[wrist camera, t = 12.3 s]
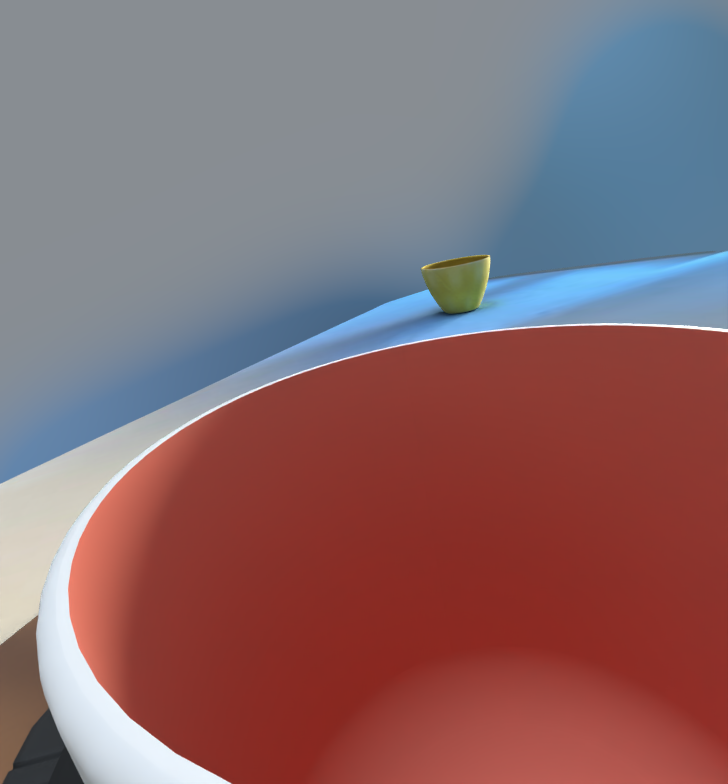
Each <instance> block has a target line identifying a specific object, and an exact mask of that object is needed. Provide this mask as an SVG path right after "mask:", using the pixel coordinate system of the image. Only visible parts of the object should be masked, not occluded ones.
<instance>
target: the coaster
mask: <svg viewBox="0 0 728 784" xmlns="http://www.w3.org/2000/svg"><path fill="white" fill-rule="evenodd" d="M37 622H38V616H36V617H35V618H34V619H32V620H31V621H30V622H29V623H27V624H26V625H25V626H24V627H22V628H21V629H20V630H19V631H17V632H16V633H15V634H14V635H12V636H11V637H10V638H9V639H7V640H6V641H5V642H4V643H2V644H1V645H0V784H2V783H3V781H4V779H5V777H6V775H7V773H8V772H9V771H11V770H12V769H13V762H14V760H15V758H16V756H17V754H18V752H19V751H20V749H21V747H22V745H23V743H24V741H25V739H26V737H27V735H28V733H29V732H30V730H31V728H32V727H33V725H34V724H35V723H36V722H37V721H38V720H39V719H40V717H41V716H42V715H43V714H44V713H45V712H46V711H47V709H48V708H49V706H48V703H47V701H46V698H45V696H44V692H43V688H42V685H41V681H40V673H39V663H38V653H37V640H36V630H37Z"/></svg>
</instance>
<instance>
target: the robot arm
mask: <svg viewBox="0 0 728 784" xmlns="http://www.w3.org/2000/svg"><path fill="white" fill-rule="evenodd" d="M2 784H84V782H83V780H82V778H81V776H80V774H79V772H78V770H77V768H76V766H75V764H74V762H73V760H72V758H71V756H70V754H69V752H68V750H67V748H66V746H65V744H64V742H63V740H62V738H61V736H60V733H59V731H58V729H57V726H56V724H55V721H54V719H53V716H52V714H51V711H50V708H48V709H47V711H46V712H45V713H44V714H43V715H42V716H41V717H40V719H39V720H38V721H37V722H36V723H35V724H34V725H33V727H32V728H31V730H30V732H29V733H28V735H27V737H26V739H25V741H24V743H23V745H22V747H21V749H20V751H19V752H18V754H17V756H16V758H15V760H14V762H13V769H12V770H11V771H9V772H8V773H7V775H6V777H5V779H4V781H3V783H2Z"/></svg>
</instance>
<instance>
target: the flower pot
mask: <svg viewBox="0 0 728 784" xmlns="http://www.w3.org/2000/svg"><path fill="white" fill-rule="evenodd" d="M489 269H490V255H477V256H468V257H462V258H457V259H451V260H446V261H441V262H438V263H433V264H430V265H427V266H424V267H422V268H421V271H422V275H423V278H424V280H425V283H426V285H427V287H428V289H429V291H430V293H431V295H432V296H433V298H434V299H435V301H436V302H437V304H438V305H439V306H440V307H441V309H442V310H443V311H444V312H445V313H449V314H454V313H462V312H467V311H471V310H474V309H476V308H478V307H479V305H480V303H481V300H482V298H483V295H484V293H485V289H486V286H487V282H488V277H489Z"/></svg>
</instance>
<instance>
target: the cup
mask: <svg viewBox="0 0 728 784" xmlns="http://www.w3.org/2000/svg"><path fill="white" fill-rule="evenodd" d="M36 640H37V653H38V663H39V673H40V681H41V685H42V688H43V692H44V696H45V698H46V701H47V703H48V706H49V708H50V711H51V714H52V716H53V719H54V721H55V724H56V726H57V729H58V731H59V733H60V736H61V738H62V740H63V742H64V744H65V746H66V748H67V750H68V752H69V754H70V756H71V758H72V760H73V762H74V764H75V766H76V768H77V770H78V772H79V774H80V776H81V778H82V780H83V782H84V784H728V330H725V329H716V328H704V327H691V326H676V325H655V324H570V325H549V326H533V327H520V328H510V329H499V330H490V331H482V332H473V333H466V334H459V335H452V336H446V337H440V338H434V339H428V340H422V341H417V342H412V343H407V344H402V345H397V346H392V347H388V348H383V349H379V350H375V351H371V352H367V353H363V354H359V355H355V356H351V357H347V358H344V359H340V360H337V361H333V362H330V363H326V364H323V365H320V366H317V367H314V368H310V369H307V370H304V371H301V372H298V373H296V374H293V375H290V376H287V377H284V378H282V379H279V380H276V381H274V382H271V383H268V384H266V385H263V386H261V387H259V388H256V389H254V390H251V391H249V392H247V393H244V394H242V395H240V396H238V397H236V398H233V399H231V400H229V401H227V402H225V403H223V404H221V405H219V406H217V407H215V408H213V409H211V410H209V411H207V412H205V413H203V414H202V415H200V416H198V417H196V418H194V419H192V420H191V421H189V422H187V423H186V424H184V425H182V426H181V427H179V428H177V429H176V430H174V431H173V432H171V433H169V434H168V435H166V436H165V437H163V438H162V439H160V440H159V441H157V442H156V443H155V444H153V445H152V446H151V447H149V448H148V449H146V450H145V451H144V452H142V453H141V454H140V455H139V456H137V457H136V458H135V459H134V460H132V461H131V462H130V463H129V464H127V465H126V466H125V467H124V468H123V469H122V470H121V471H119V472H118V473H117V474H116V475H115V476H114V477H113V478H112V479H111V480H110V481H109V482H108V483H107V484H106V485H105V486H104V487H103V489H102V490H101V491H100V492H99V493H98V494H97V495H96V496H95V497H94V498H93V499H92V501H91V502H90V503H89V504H88V505H87V506H86V507H85V508H84V510H83V511H82V512H81V514H80V515H79V517H78V518H77V519H76V521H75V522H74V524H73V525H72V527H71V528H70V529H69V531H68V532H67V534H66V536H65V538H64V540H63V542H62V544H61V546H60V547H59V549H58V551H57V553H56V555H55V557H54V559H53V561H52V564H51V567H50V570H49V573H48V576H47V578H46V581H45V584H44V587H43V590H42V594H41V599H40V607H39V615H38V622H37V630H36Z"/></svg>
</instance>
